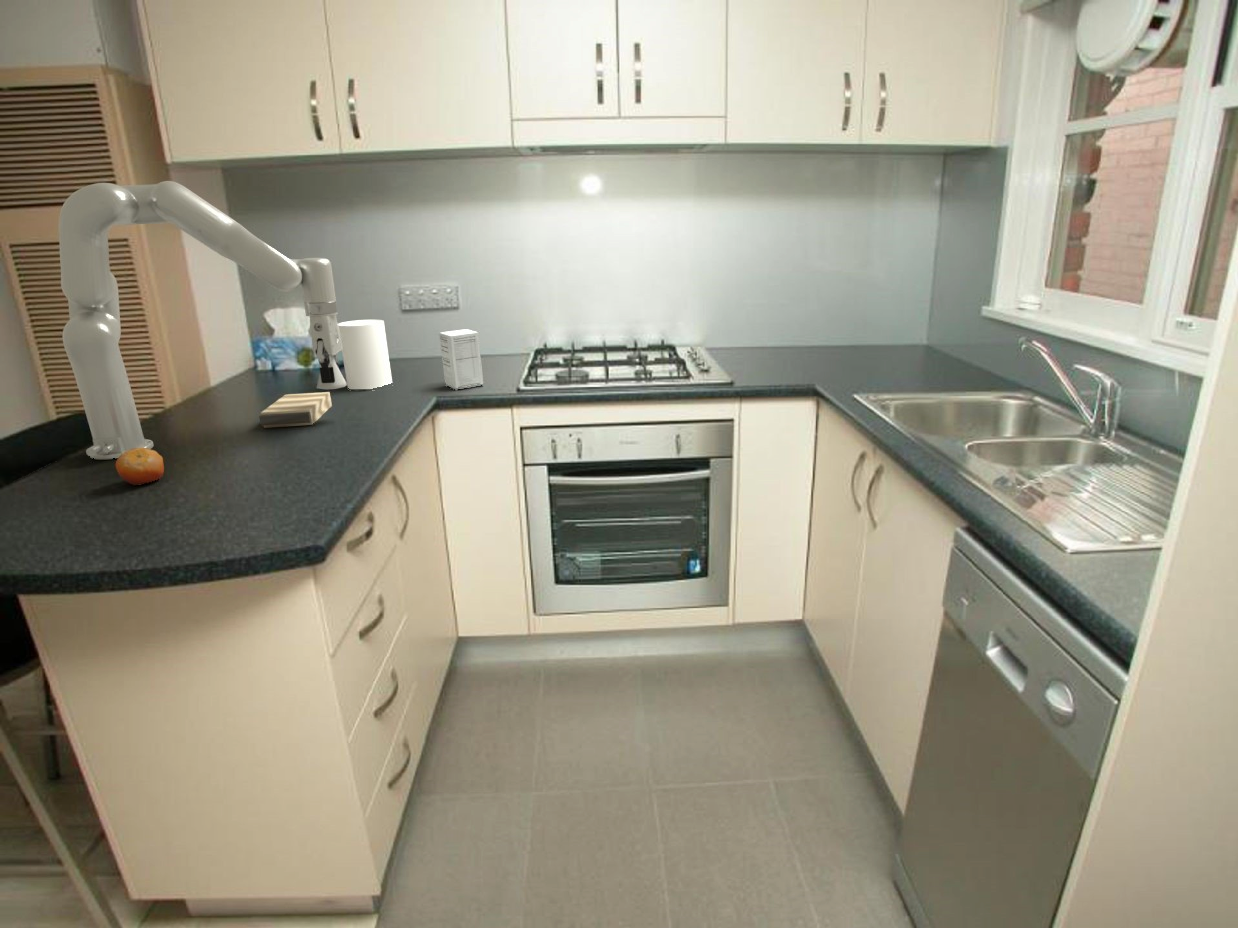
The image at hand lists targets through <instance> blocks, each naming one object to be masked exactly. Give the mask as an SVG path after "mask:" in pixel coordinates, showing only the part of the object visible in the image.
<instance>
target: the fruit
mask: <svg viewBox="0 0 1238 928" xmlns="http://www.w3.org/2000/svg"><path fill="white" fill-rule="evenodd" d="M116 459H117V460H116V461H115V469H116V471H117V473H118V475H119V477H120V478H122V479H123V480H124V481H125V482H126V483H128V484H131V485H133V486H135V485H139V484H144V483H147V484H149V482H150V483H153V482H155V480H156V481H159V480H160V479H161V478H162V477H163V476H164V472H165V466H164V465H165V464H164V458H163V456H162V455H160V454H159V452H157V451H156V450H154V449H145V448H140V447H139V448H134V449H131V450H129V451H126V452H124V453H123V454H122V455H121V456H120V457H119V458H116ZM158 479H159V480H158ZM152 481H153V482H152ZM144 485H145V484H144Z"/></svg>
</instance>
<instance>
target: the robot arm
mask: <svg viewBox="0 0 1238 928" xmlns="http://www.w3.org/2000/svg"><path fill="white" fill-rule="evenodd" d="M59 212H60V213H59V216H58V238H59V261H60V262H59V263H60V275H61V276H60V286H61V290H62V292H63V294H64V296H65V298H66V299H67V302H68V315H69V320H68V321H67V322H66V324H65V325H64V327H63V330H62V342H63V347H64V350H65V352H66V355H67V358H68V361H69V364H70V366H71V369H72V372H73V375H74V377H75V381H76V382H75V383H76V385H77V389H78V392H79V395H80V397H81V401H82V405H83V409H84V412H85V415H86V419H87V423H88V426H89V429H90V434H91V437H92V443H93V445H92V446H90V447H89V448H87V449H86V450H85V452H86V456H88V457H89V456H90V457H89V458H90V459H93V458H94V460H114V459H113V458H115V459H118V458H119V457H120V456H121V455H122V454H123V453H124V452H126V451H129V450H131V449H134V448H139V447H140V448H145V449H150V450H152V449H153V447H154V441H153V440H151V439H146V438H145V437H144V433H143V430H142V426H141V422H140V419H139V414H138V411H137V407H136V403H135V399H134V395H133V391H132V389H131V384H130V380H129V377H128V374H127V369H126V367H125V363H124V360H123V357H122V354H121V350H120V346H119V345H120V344H119V342H120V339H121V336H122V335H121V334H122V333H121V330H122V329H121V327H122V326H121V317H120V316H121V315H120V314H121V313H120V312H121V311H120V299H119V285H118V281H117V279H116V277H115V275H114V274H113V273H112V272H111V269H110V267H111V266H110V255H109V254H110V248H109V239H108V237H109V231H110V229H111V228H112V227H113V226H133V225H149V224H152V225H153V224H165V223H170V224H172V225H173V226H174V227H177V228H178V229H179V230H181V231H183V232H184V233H186V234H187V235H189V236H190V237H192V238H193V239H195V240H197V241H198V242H199V243H201V244H203V245H204V246H206V247H207V248H209V249H211V250H212V251H214V252H216V253H217V254H218V255H219V256H222V258H223V257H224V258H225V259H228V260H230V261H231V262H233V263H236V264H237V265H239V266H241V267H242V268H243V269H245V270H246V271H248V272H250V273H251V274H252V275H254V276H256V277H257V278H259V279H261V280H262V281H264V282H265V283H267V284H268V285H270V286H271V287H272V288H274V289H276V290H277V291H281V292H292V291H295V290H296V289H297V288H301V293H302V297H303V298H302V299H303V305H304V306H303V307H304V311H305V316H306V317H309V326H310V337H311V343H312V344H311V345H312V350H313V354H314V355H315V356H316V358H317V360H318V368H319V375H320V374H321V381H322V383H334V382H335V377H334V369H333V367H332V364H331V355H334V359H335V362H336V364H337V366H338V368H339V369H340V364H339V357H338V353H339V352H342V343H341V338H340V332H339V327H338V324H339V322H338V319H337V315H339V313H338V306H337V305H338V304H337V299H336V290H335V289H336V288H335V281H334V275H333V268H332V263H331V261H330V260H329V259H328V258H325V257H309V258H308V257H307V258H301V259H296V258H288V257H287V256H285V255H284V254H282V253H281V252H280V251H278V250H276V249H275V248H273V247H272V246H270V245H269V244H268V243H266V242H265V241H263V240H262V239H261V238H258V237H257V236H256V235H254V234H253V233H252V232H250V231H249V230H248V229H247V228H245V227H244V226H243V225H242V224H241V223H239V222H237V221H236V220H235V219H233V218H232V217H230V216H229V215H228V214H225V213H224V212H222V211H221V210H220V209H218V208H217V207H216V206H214V205H212V204H211V203H209V202H208V201H207V200H205V199H203V198H202V197H200V196H199V195H198V194H196V193H195V192H193V191H192V190H190V189H189V188H187V187H186V186H184V185H182V184H180V183H178V182H177V181H174V180H164V181H161V182H158V183H155V184H136V185H135V184H131V185H129V184H128V185H117V184H114V183H111V182H98V183H93V184H89V185H87V186H84V187H81V188H80V189H78V190H76V191H74V192H73V193H72V194H71V195H69V196H68V197H67V198H66V199H65V202H63V204H62V207H61V209H60V211H59ZM324 353H328V355H324ZM326 358H328V361H327V359H326Z"/></svg>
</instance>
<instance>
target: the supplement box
mask: <svg viewBox="0 0 1238 928" xmlns="http://www.w3.org/2000/svg"><path fill="white" fill-rule="evenodd" d="M438 336H439V343H440V352H441V353H440V354H441V361H442V368H443V375H444V384H445V383H446V384H448V385H451V386H452V387H455V388H458V387H467V386H471V385H477V384H483V383H484V376H483V367H482V357H481V346H480V338H479V332H478V331H474V330H471V329H468V328H467V329H458V330H450V331H443V332H439V333H438Z"/></svg>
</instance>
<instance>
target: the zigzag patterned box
mask: <svg viewBox="0 0 1238 928" xmlns="http://www.w3.org/2000/svg"><path fill="white" fill-rule="evenodd" d="M332 404H333V403H332V398H331V393H330V391H325V392H307V393H290V394H289V393H288V394H284V395H283V396H282V397H280V398H278V399H277V400H276V401H275V402H273V403H272V404H270V405H269V406H267V407H266V408H265V409H263V410H262V411H261V412H260V415H259V417H258V418H259V424H260V426H261V427H262V426H263V428H265V429H266V428H267V429H269V428H280V427H281V428H282V427H296V426H299V427H300V426H312V425H313V423H314V424H315V422H317V421H318V420H319V419H321V418H322V416H323V415H324V414H325V413H326V412H327V411H328V410H329V409H330V408H332V406H333V405H332Z"/></svg>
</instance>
